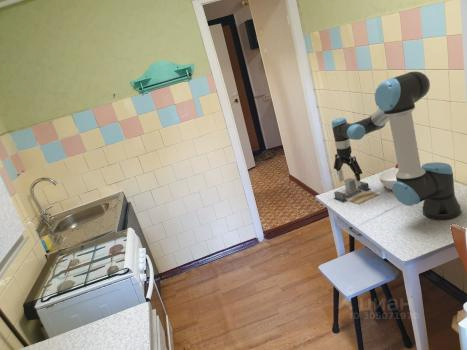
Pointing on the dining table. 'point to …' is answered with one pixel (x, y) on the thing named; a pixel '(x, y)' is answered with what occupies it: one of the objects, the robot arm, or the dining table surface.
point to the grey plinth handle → (342, 196)
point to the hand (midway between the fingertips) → (349, 183)
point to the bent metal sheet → (351, 188)
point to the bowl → (388, 177)
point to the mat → (363, 197)
